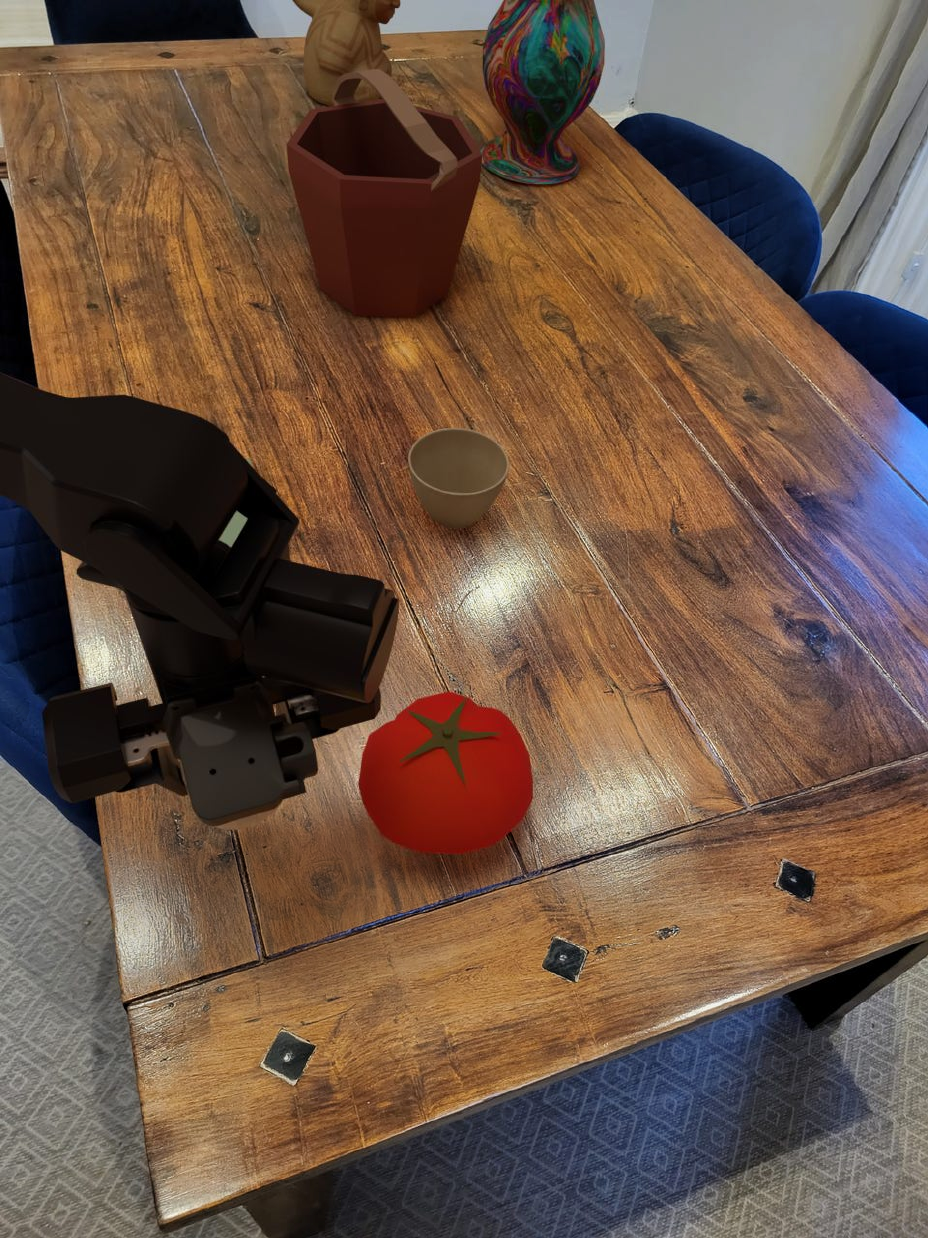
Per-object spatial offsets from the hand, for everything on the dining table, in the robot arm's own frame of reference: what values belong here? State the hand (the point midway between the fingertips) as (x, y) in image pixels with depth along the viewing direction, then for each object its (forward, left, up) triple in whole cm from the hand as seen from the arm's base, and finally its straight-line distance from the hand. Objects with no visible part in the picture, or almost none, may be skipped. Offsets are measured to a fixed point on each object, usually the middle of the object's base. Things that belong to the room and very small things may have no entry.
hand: (235, 775), depth 59 cm
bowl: (0, 0, -2) cm, 2 cm away
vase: (+69, +101, -11) cm, 123 cm away
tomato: (+15, -2, -11) cm, 19 cm away
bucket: (+34, +72, -11) cm, 81 cm away
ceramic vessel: (+47, +132, -11) cm, 141 cm away
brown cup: (+28, +29, -11) cm, 42 cm away
